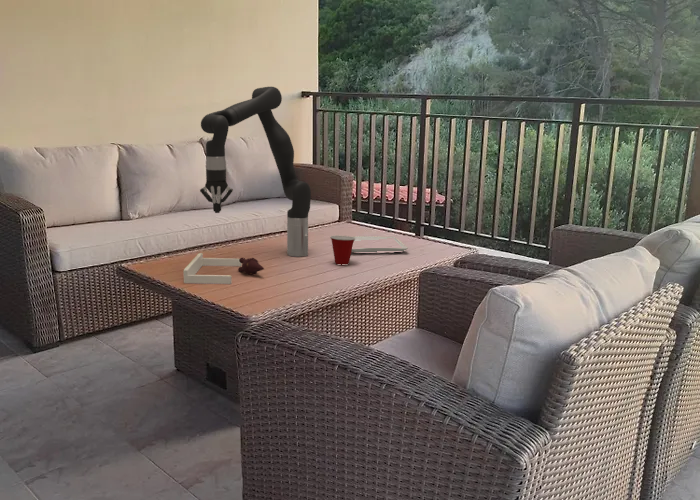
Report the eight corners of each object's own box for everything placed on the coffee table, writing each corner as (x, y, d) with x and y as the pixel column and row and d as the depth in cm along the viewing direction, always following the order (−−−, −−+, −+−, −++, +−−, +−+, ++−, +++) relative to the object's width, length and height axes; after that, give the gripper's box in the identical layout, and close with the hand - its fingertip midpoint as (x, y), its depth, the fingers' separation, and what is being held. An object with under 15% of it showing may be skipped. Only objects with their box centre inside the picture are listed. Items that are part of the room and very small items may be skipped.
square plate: (408, 255, 290) (408, 247, 289) (349, 256, 285) (349, 248, 284) (394, 242, 316) (394, 235, 315) (340, 243, 311) (340, 235, 310)
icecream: (272, 260, 248) (247, 256, 257) (257, 258, 242) (233, 255, 252) (269, 278, 247) (245, 273, 257) (255, 276, 242) (230, 272, 252)
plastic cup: (359, 262, 273) (359, 235, 270) (348, 268, 264) (349, 240, 261) (336, 259, 278) (337, 232, 275) (325, 264, 268) (325, 237, 265)
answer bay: (241, 265, 263) (241, 253, 262) (231, 284, 237) (230, 271, 235) (199, 264, 263) (198, 253, 262) (183, 283, 236) (183, 270, 235)
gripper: (234, 167, 246) (235, 211, 250) (200, 166, 246) (202, 210, 250) (231, 169, 239) (232, 214, 243) (196, 168, 238) (198, 214, 243)
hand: (217, 212), depth 246 cm, fingers closed
